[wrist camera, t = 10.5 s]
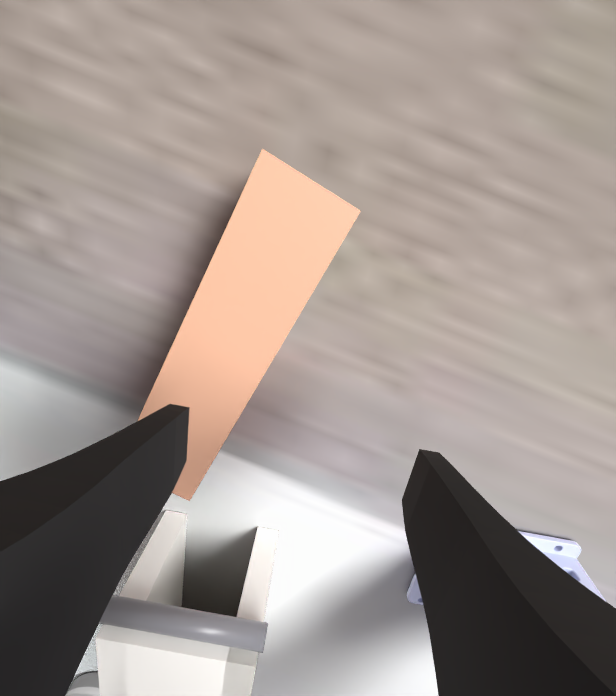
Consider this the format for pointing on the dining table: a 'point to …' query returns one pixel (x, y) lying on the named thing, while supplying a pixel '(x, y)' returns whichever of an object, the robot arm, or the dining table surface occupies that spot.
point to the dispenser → (182, 625)
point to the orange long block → (247, 304)
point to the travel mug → (85, 685)
